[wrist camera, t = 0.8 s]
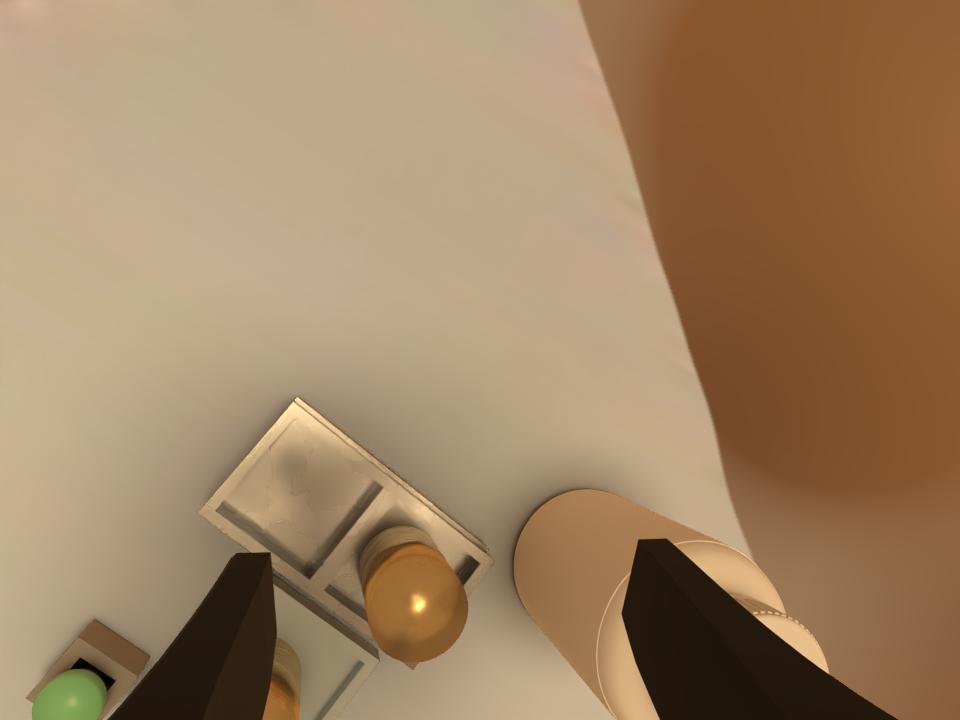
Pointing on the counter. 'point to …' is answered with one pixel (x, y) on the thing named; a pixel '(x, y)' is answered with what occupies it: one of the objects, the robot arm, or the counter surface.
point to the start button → (72, 696)
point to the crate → (329, 512)
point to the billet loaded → (411, 595)
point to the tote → (321, 654)
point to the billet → (284, 684)
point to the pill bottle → (623, 588)
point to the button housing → (101, 662)
